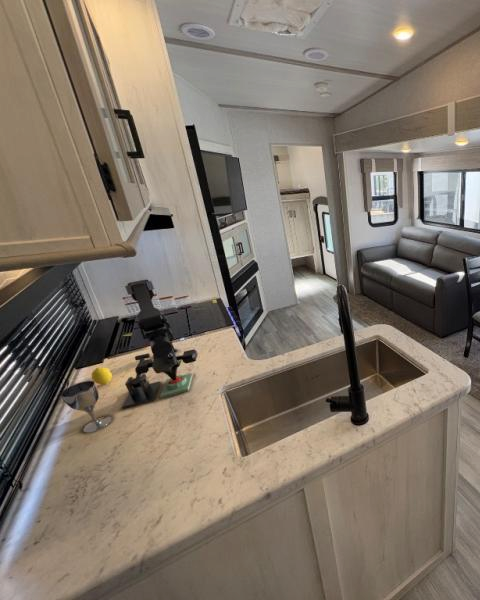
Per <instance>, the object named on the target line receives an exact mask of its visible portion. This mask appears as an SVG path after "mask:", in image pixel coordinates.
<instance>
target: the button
mask: <svg viewBox="0 0 480 600" xmlns="http://www.w3.org/2000/svg"><path fill="white" fill-rule="evenodd" d="M180 380H181V378H180V377H176V380H172V379H171V380H170V384H173V383H177V382H179V381H180Z"/></svg>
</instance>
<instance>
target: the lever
mask: <svg viewBox="0 0 480 600" xmlns="http://www.w3.org/2000/svg"><path fill="white" fill-rule="evenodd" d="M147 359H151V354H150V353H149V352H147V353H144V354H143V353H142V354H138V355H135V356H134V360H135V361H138V363H139V362H140V361H143V360H147ZM141 375H142V374H140V375H137V374H136V376H135V377H134V378H133V380H132V384H131V385H132V386H133V387H134V388H137V387H141V385H140V383H139V379H140V377H141Z"/></svg>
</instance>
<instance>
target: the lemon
mask: <svg viewBox="0 0 480 600" xmlns="http://www.w3.org/2000/svg"><path fill="white" fill-rule="evenodd" d="M112 376H113V375H112V372H111V370H110V369H109V368H107V367H103V366H98V367H96V368H95V369H93V371H92V373H91V379H92V381H93V382H94V383H95V384H96V385H97V384H98V385H107V384H108V383H109V382H110V381H111V380H112Z"/></svg>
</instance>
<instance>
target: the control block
mask: <svg viewBox="0 0 480 600" xmlns="http://www.w3.org/2000/svg"><path fill="white" fill-rule="evenodd" d="M177 377H180V378H181V380H180V381H179V382H177V383H173V384H170V380H171V378H170V377H169V378H167V379H166V380H165V382H164V384H163V387H162V390H161V392H160V395H159V398H160V399H165V398H167V397H171V396H174V395H175V396H176V395H178V394H183V393H186V392H189V391H190V387H191V383H192V381H193V377H194V374H193V373H188V374H182V375H181V374H178V375H177Z"/></svg>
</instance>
